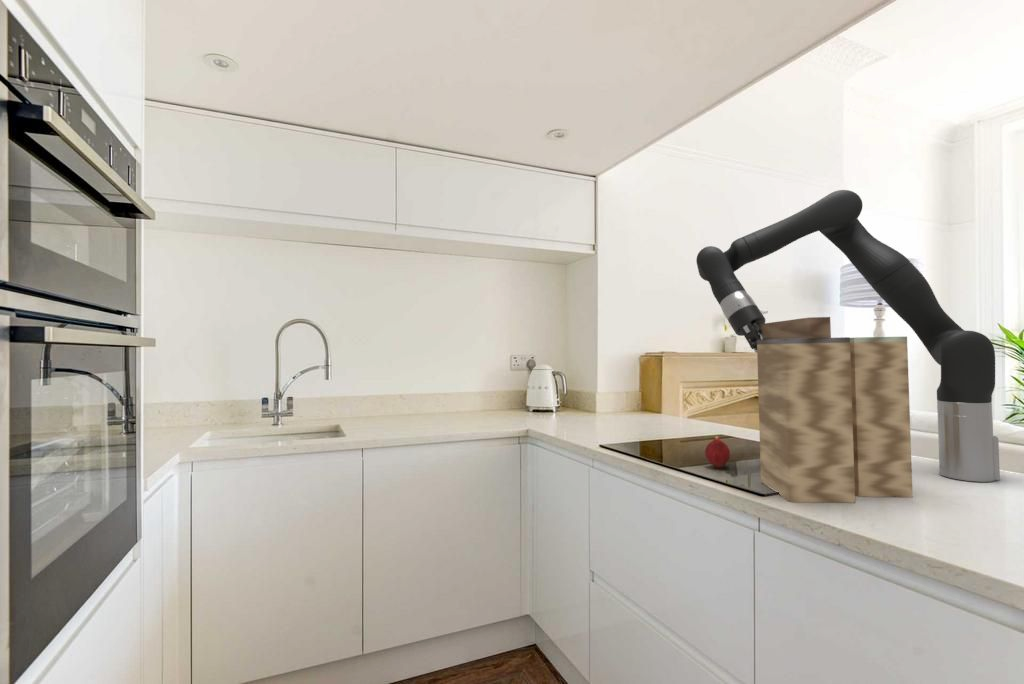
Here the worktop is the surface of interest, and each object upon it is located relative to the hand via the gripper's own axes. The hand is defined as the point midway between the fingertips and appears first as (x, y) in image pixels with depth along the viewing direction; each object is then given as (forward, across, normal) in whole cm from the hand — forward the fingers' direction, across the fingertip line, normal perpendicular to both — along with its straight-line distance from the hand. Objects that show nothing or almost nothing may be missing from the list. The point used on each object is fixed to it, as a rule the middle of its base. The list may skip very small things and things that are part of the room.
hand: (776, 367), depth 116 cm
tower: (+30, +6, -1) cm, 30 cm away
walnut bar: (-2, -8, -7) cm, 11 cm away
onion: (+15, +4, +25) cm, 29 cm away
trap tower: (+27, -5, +7) cm, 29 cm away
